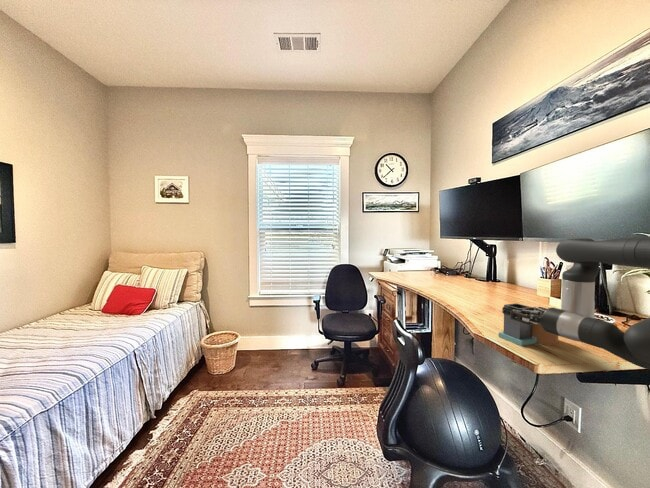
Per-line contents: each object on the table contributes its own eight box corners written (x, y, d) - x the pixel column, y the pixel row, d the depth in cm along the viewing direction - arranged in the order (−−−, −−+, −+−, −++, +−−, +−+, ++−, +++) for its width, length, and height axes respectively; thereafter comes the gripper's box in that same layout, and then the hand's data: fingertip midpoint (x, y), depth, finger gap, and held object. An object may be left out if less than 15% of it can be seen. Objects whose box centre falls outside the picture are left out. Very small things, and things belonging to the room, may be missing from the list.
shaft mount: (513, 334, 96) (513, 315, 96) (537, 342, 89) (537, 323, 89) (498, 336, 94) (498, 318, 94) (521, 346, 87) (521, 325, 86)
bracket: (564, 345, 87) (565, 324, 87) (538, 345, 88) (539, 324, 87) (524, 325, 105) (525, 308, 105) (503, 325, 105) (503, 308, 105)
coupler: (515, 331, 95) (516, 303, 94) (532, 337, 90) (532, 307, 89) (503, 333, 93) (504, 304, 93) (519, 339, 88) (520, 309, 88)
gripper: (549, 340, 76) (495, 321, 91) (583, 334, 80) (526, 317, 96) (549, 314, 75) (496, 299, 91) (584, 308, 79) (527, 296, 95)
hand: (511, 308), depth 93 cm, fingers open, 7 cm apart
